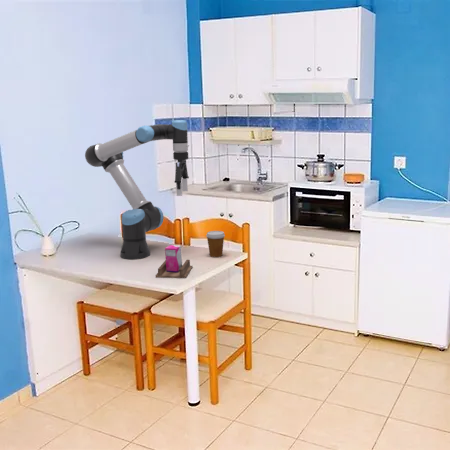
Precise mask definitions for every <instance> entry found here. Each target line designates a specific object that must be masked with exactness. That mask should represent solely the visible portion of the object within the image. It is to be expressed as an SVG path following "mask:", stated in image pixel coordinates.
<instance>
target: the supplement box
mask: <svg viewBox="0 0 450 450" xmlns="http://www.w3.org/2000/svg"><path fill="white" fill-rule="evenodd" d="M164 253H165V260H166V271H167V272H176V273H177V272H179V271H180V268H181V267H182V265H183V259H182V246H181V245H175V244H170V245H168V246H166V247H164Z"/></svg>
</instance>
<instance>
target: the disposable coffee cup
mask: <svg viewBox="0 0 450 450" xmlns="http://www.w3.org/2000/svg"><path fill="white" fill-rule="evenodd" d="M225 236H226V235H225V232H224V231H222V230H210V231H208V232H207V233H206V235H205V237H206V239H207V245H208V251H209V256H210V257H211V258H219V257H220V258H221V257H222V256H223V252H224V251H223V250H224V242H225Z"/></svg>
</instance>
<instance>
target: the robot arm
mask: <svg viewBox="0 0 450 450" xmlns="http://www.w3.org/2000/svg"><path fill="white" fill-rule="evenodd" d="M160 140H161V141H162V140H172V152H173V154H172V155H173V156H172V157H173V158H172V159H173V160H174V161H177V162H175V176H174V177H175V178H174V180H173V182H174V183H175V189H176V196H177V197H179V196H180V197H181V196H182V197H183V192H188V191H189V190H188V189H189V188H188V179H189V178H190V176H189V173H188V168H187V167H188V166H187V160H188V159H189V147H190V144H189V143H188V142H189V141H188V123H187V120H184V119H183V120H182V119H177V120H176V119H175V120H172V121H171V124H167V123H166V124H164V123H163V124H162V123H157V124H151V125H142V126H139V127H138V128H137V129H135V130H133V131H130V132H128V133H125V134H123V135H121V136H118V137H116V138H114V139H111V140H109V141H105V142H104V143H100V142H99V143H98V142H97V144H96V143H95V144H93V145H90V146H89V147H87V148H86V151H85V154H84V157H85V161H86V162H87V163H88V165H90V166H91V167H94V168H95V167H97V168H99V167H102V168H103V170H104V171H105V172H106V173H109V174H110V175H111V177H112V179H113V180H114V181H115V184H116V185H117V186H118V188H119V190H120V191H121V192H122V194H123V196H124V197H125V199H126V200H127V202H128V204H129V205H130V206H131V208H132V209H128V210H126V211H124V212H123V213H122V214H121V228H122V229H121V230H122V240H123V241H122V245H121V249H120V257H121V258H122V259H127V260H139V259H140V260H141V259H144V258H148V257H149V256H150V255H151V250H150V246H149V244H148V242H147V236H146V233H148V232H151V231H155V230H156V229H158V228H160V227H161V226H162V224H163V222H164V213H163V211H162V209H161V208H159V207H158V206H154V204H153V202H152V201H150V200H147V199H146V197H145V196H144V194H143V193H142V191H141V189H140V187H139V186H138V184H137V183H136V181H135V180H134V179H133V177H132V176H131V174H130V172H129V171H128V169H127V168H126V166H125V164H124V162H125V159H124V152H127V151H129V150H131V149H133V148H136V147H138V146H141V145H143V144H144V145H145V144H146V143H149V142H154V141H160Z"/></svg>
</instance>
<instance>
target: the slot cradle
mask: <svg viewBox="0 0 450 450" xmlns="http://www.w3.org/2000/svg"><path fill="white" fill-rule="evenodd" d="M193 268H194V267H193V265H191V260H190V259H186V260H185V261H184V262H183V263H182V267H181V268H180V271H179V272H177V273H176V272H167V271H166V259H165V260H164V261H163V262H162V264H161V265H160V266H159V267H158V268H157V273H156V274H155V278H159V279H160V278H163V279H164V278H167V279H187V277H188V275H190V272H191V271H192V270H191V269H193Z"/></svg>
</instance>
